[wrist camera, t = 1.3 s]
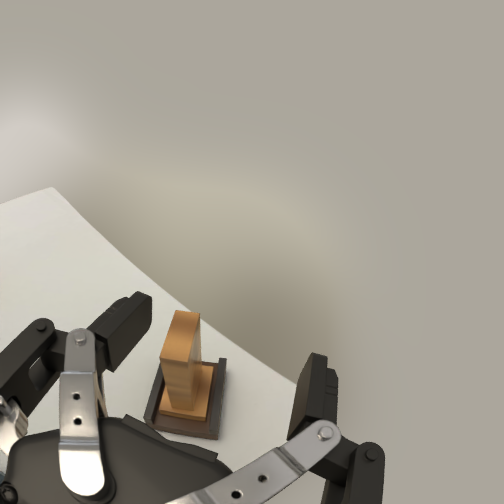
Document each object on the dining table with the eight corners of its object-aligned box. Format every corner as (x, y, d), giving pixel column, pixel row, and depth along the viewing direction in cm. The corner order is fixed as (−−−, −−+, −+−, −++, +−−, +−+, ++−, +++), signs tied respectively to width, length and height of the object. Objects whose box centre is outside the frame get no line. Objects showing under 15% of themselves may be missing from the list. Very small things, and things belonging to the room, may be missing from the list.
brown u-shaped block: (217, 440, 26) (217, 431, 24) (147, 427, 26) (142, 417, 24) (226, 370, 34) (226, 358, 33) (166, 362, 34) (164, 349, 33)
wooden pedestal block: (205, 421, 26) (202, 369, 21) (160, 414, 26) (142, 358, 21) (213, 372, 32) (214, 311, 27) (173, 366, 32) (164, 304, 27)
